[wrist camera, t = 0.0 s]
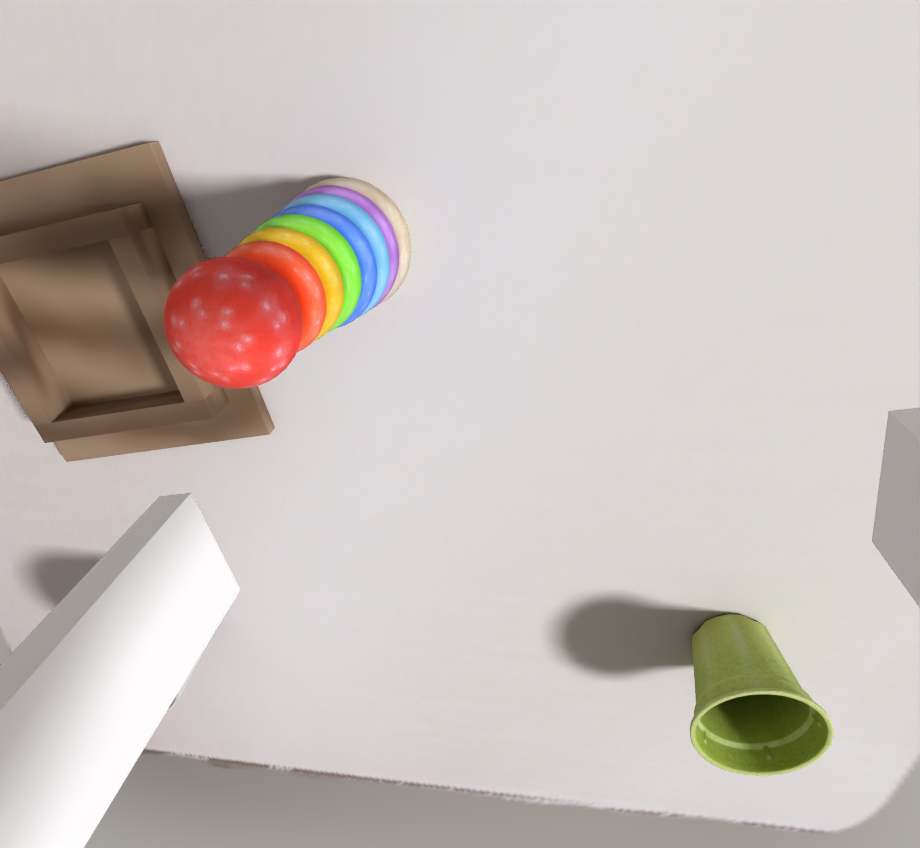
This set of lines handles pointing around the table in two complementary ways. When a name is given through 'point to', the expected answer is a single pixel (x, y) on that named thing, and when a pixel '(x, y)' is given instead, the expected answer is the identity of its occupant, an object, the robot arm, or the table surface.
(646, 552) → the table surface
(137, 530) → the robot arm
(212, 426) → the walnut jig
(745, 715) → the plant pot
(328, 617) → the table surface
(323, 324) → the stacking toy
